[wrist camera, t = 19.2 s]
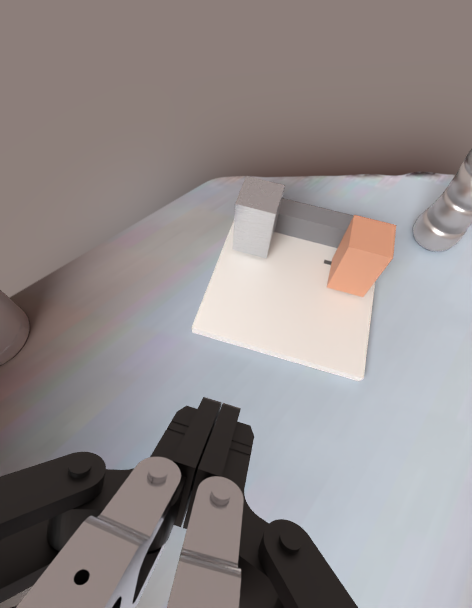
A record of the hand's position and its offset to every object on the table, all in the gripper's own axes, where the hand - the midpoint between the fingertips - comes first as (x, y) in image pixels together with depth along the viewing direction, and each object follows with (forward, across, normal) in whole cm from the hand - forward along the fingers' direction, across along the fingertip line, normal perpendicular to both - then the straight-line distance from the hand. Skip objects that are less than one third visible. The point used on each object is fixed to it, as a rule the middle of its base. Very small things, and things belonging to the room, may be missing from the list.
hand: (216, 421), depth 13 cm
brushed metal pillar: (+39, +4, -3) cm, 39 cm away
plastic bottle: (+48, -22, -8) cm, 54 cm away
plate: (+37, -3, +2) cm, 37 cm away
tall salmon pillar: (+38, -10, -1) cm, 39 cm away
